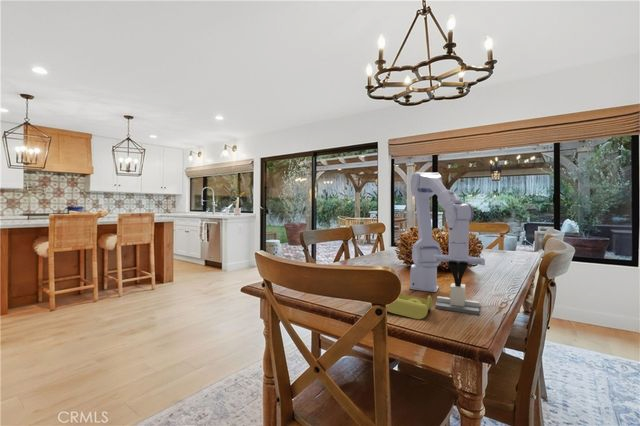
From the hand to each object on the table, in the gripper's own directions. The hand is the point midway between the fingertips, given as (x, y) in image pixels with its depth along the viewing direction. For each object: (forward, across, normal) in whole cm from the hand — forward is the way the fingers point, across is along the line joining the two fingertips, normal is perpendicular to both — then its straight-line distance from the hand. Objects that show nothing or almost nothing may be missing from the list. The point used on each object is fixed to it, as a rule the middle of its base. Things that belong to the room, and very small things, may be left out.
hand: (458, 286), depth 97 cm
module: (+5, 0, 0) cm, 5 cm away
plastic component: (+7, -16, -11) cm, 20 cm away
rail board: (+6, 0, 0) cm, 6 cm away
